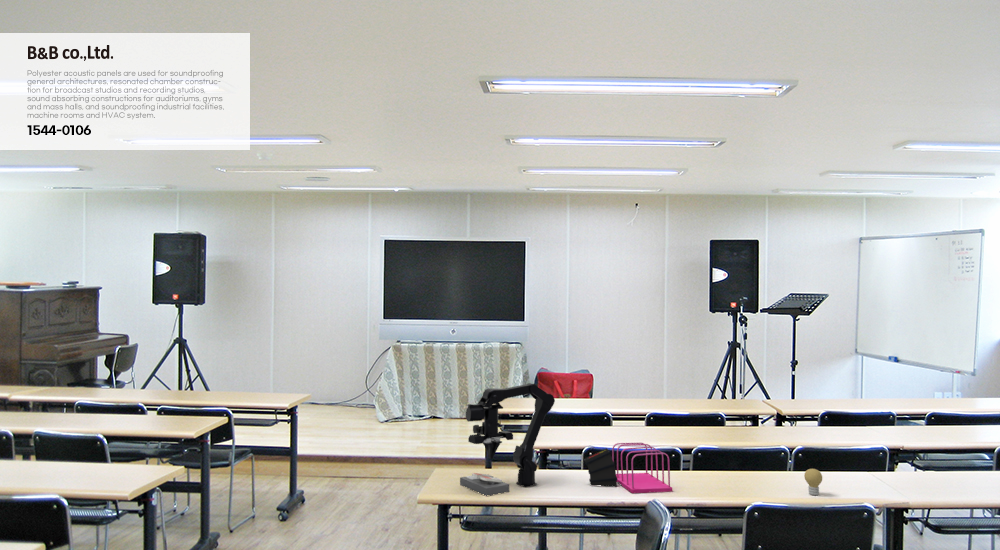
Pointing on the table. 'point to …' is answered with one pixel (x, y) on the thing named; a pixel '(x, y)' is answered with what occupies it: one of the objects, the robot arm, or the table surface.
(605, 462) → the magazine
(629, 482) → the file sorter
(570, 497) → the table surface
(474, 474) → the rocker
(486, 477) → the rocker
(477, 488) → the rocker switch panel
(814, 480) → the light bulb
